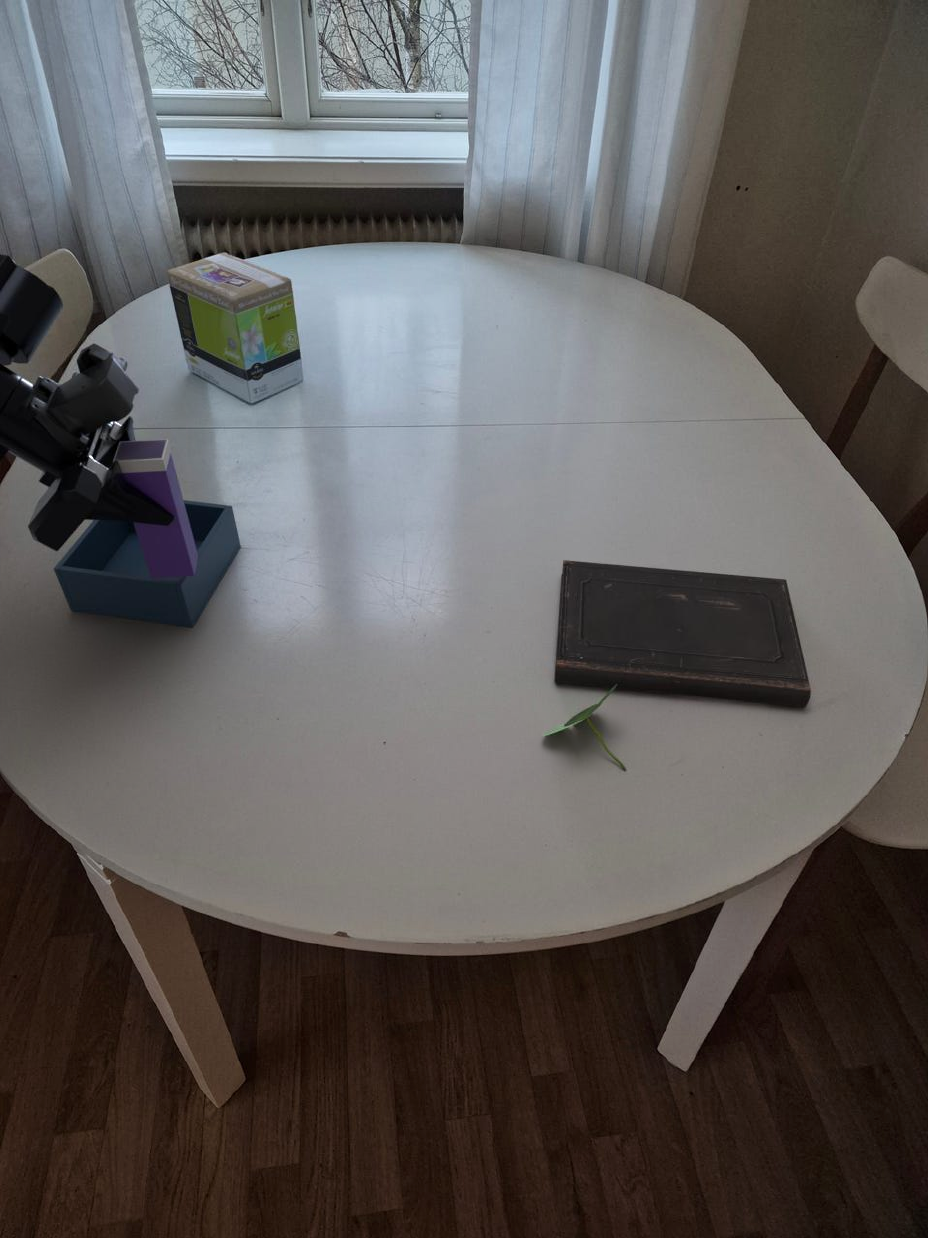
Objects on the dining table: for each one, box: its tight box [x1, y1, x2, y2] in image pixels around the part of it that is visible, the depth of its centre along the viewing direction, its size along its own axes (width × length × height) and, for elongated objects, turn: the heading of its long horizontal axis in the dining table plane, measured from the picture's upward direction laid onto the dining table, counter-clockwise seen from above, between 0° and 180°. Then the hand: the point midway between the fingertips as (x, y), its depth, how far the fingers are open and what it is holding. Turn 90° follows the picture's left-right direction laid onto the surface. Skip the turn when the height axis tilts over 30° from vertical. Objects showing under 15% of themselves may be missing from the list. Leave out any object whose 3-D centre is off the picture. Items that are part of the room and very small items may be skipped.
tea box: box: [166, 251, 304, 404], centre depth 119 cm, size 15×10×15 cm
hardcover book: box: [553, 559, 812, 708], centre depth 85 cm, size 16×23×2 cm
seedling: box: [542, 684, 627, 772], centre depth 74 cm, size 7×8×6 cm
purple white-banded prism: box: [113, 438, 198, 579], centre depth 77 cm, size 4×3×13 cm
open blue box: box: [53, 499, 242, 628], centre depth 90 cm, size 13×13×6 cm
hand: (174, 510), depth 77 cm, fingers closed on purple white-banded prism, 3 cm apart
